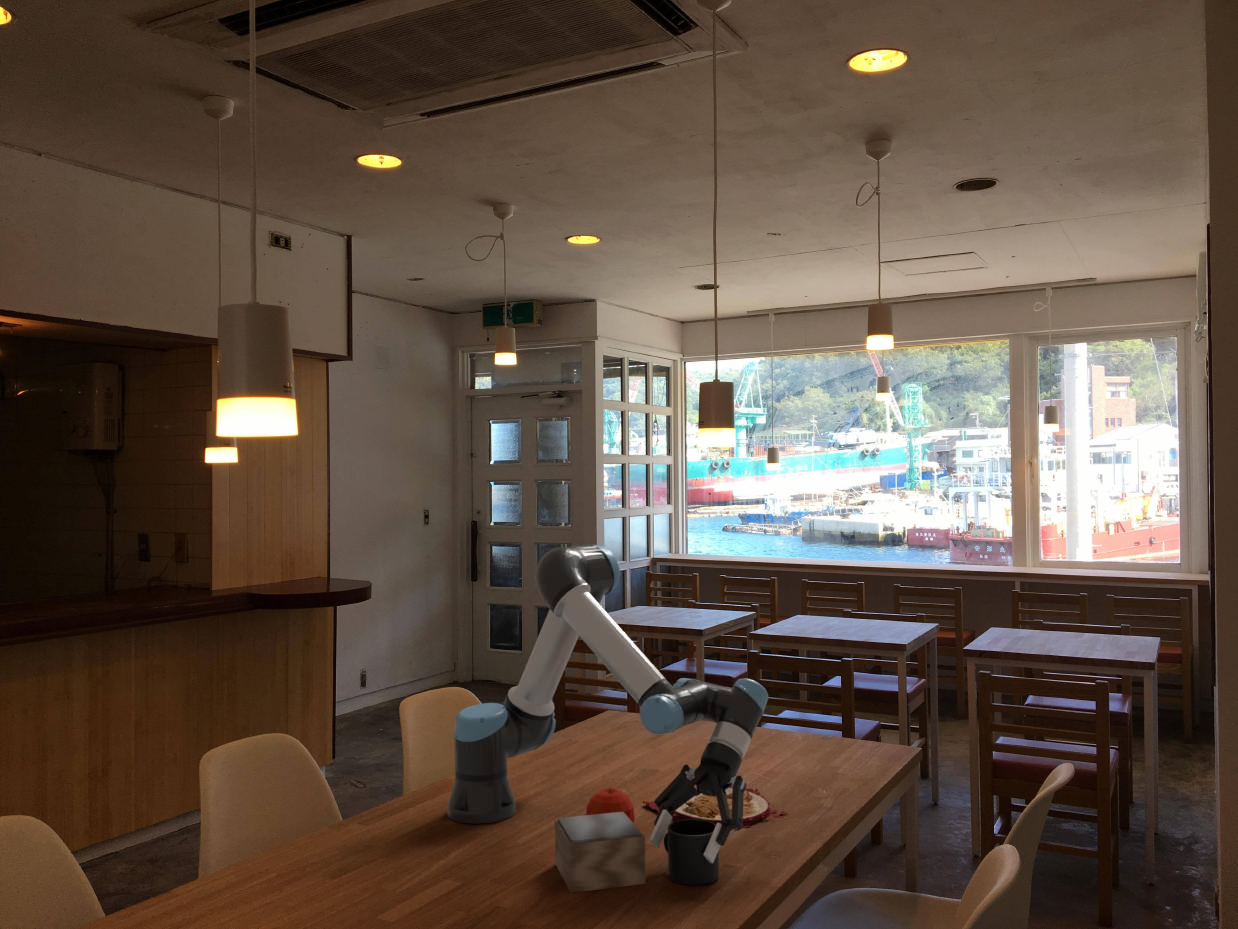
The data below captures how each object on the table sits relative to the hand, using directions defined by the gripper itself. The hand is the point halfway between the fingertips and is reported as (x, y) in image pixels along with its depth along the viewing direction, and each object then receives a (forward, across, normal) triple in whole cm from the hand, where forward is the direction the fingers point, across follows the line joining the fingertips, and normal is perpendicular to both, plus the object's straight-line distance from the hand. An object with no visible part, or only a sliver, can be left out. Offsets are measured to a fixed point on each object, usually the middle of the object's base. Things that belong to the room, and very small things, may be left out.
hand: (680, 851), depth 183 cm
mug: (+2, 0, -5) cm, 6 cm away
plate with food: (-22, +16, -30) cm, 41 cm away
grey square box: (+9, +13, +2) cm, 16 cm away
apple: (0, +22, -8) cm, 24 cm away
